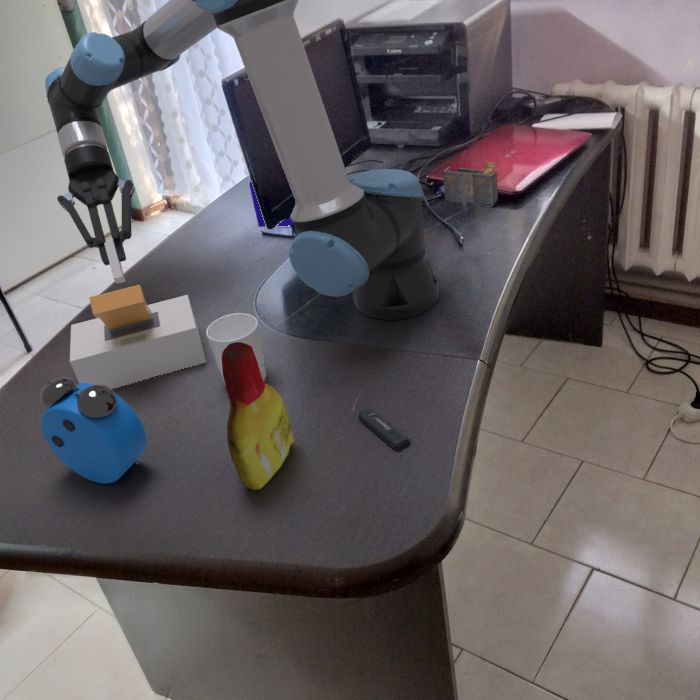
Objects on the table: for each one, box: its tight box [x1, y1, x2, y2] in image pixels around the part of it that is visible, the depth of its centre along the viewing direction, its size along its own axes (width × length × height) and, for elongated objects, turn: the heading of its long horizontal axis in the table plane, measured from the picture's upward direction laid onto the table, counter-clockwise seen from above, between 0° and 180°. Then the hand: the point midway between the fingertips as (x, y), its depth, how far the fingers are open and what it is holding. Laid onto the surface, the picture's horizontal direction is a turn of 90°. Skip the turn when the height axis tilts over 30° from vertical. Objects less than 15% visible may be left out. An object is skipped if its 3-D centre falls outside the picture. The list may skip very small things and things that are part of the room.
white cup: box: [205, 312, 267, 387], centre depth 113 cm, size 8×8×10 cm
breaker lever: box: [88, 284, 153, 331], centre depth 115 cm, size 3×8×11 cm
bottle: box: [222, 342, 295, 491], centre depth 93 cm, size 12×6×20 cm, turn 161°
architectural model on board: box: [442, 160, 499, 205], centre depth 158 cm, size 11×3×10 cm, turn 57°
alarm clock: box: [39, 377, 148, 484], centre depth 98 cm, size 13×6×15 cm, turn 65°
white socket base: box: [69, 294, 207, 390], centre depth 123 cm, size 12×20×7 cm, turn 107°
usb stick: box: [358, 408, 410, 452], centre depth 101 cm, size 10×3×2 cm, turn 34°
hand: (119, 279), depth 122 cm, fingers closed
